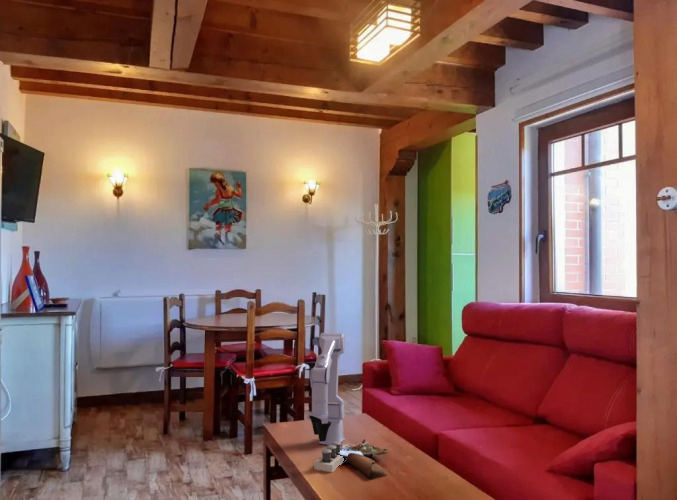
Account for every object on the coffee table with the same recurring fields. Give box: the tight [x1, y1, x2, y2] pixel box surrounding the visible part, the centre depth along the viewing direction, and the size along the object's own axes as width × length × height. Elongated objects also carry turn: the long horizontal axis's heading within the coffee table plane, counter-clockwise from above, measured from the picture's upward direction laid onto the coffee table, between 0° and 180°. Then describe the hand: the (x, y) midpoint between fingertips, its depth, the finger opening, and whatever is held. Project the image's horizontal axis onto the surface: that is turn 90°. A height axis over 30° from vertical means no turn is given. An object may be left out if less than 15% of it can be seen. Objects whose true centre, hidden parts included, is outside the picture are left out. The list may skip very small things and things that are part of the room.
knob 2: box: [331, 441, 342, 454], centre depth 202 cm, size 4×4×4 cm
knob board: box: [313, 455, 345, 473], centre depth 197 cm, size 15×7×2 cm, turn 158°
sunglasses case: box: [345, 452, 390, 480], centre depth 192 cm, size 18×7×7 cm
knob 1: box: [321, 448, 332, 462], centre depth 193 cm, size 4×4×4 cm
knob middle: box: [326, 445, 337, 458], centre depth 197 cm, size 4×4×4 cm
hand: (319, 437), depth 198 cm, fingers open, 7 cm apart
